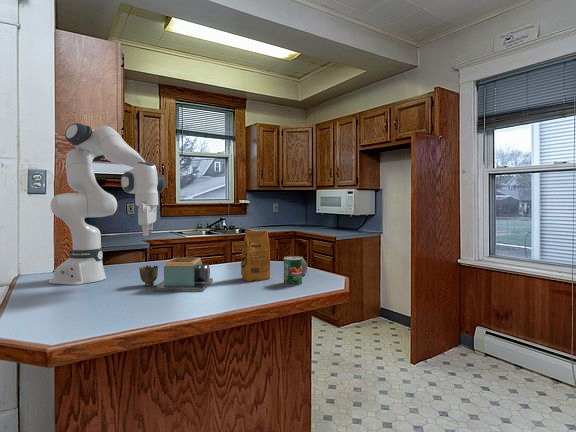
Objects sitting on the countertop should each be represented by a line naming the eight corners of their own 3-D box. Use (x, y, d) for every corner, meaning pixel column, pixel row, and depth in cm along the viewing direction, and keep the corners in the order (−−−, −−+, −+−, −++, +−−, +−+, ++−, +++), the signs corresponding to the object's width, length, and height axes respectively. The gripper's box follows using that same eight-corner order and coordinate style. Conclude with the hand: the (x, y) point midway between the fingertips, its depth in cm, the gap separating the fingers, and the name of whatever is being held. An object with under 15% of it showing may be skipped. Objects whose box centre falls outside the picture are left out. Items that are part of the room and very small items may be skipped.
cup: (161, 283, 153) (161, 265, 152) (153, 288, 145) (153, 268, 145) (145, 283, 153) (144, 264, 153) (136, 287, 146) (135, 268, 146)
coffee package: (239, 277, 163) (238, 229, 162) (265, 275, 168) (264, 228, 167) (245, 282, 154) (244, 231, 153) (272, 279, 159) (271, 230, 157)
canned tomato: (296, 286, 146) (296, 260, 145) (280, 284, 150) (279, 258, 150) (305, 282, 153) (305, 257, 152) (290, 280, 157) (289, 255, 156)
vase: (309, 274, 169) (309, 255, 169) (305, 277, 163) (305, 258, 162) (295, 273, 172) (295, 255, 171) (290, 276, 165) (290, 257, 165)
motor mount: (152, 291, 140) (151, 263, 140) (167, 281, 156) (166, 256, 156) (202, 291, 140) (202, 263, 139) (212, 281, 156) (212, 256, 155)
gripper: (150, 201, 138) (151, 237, 139) (158, 201, 158) (159, 232, 159) (133, 201, 137) (134, 237, 137) (143, 201, 157) (144, 232, 157)
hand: (148, 234), depth 148 cm, fingers open, 8 cm apart
